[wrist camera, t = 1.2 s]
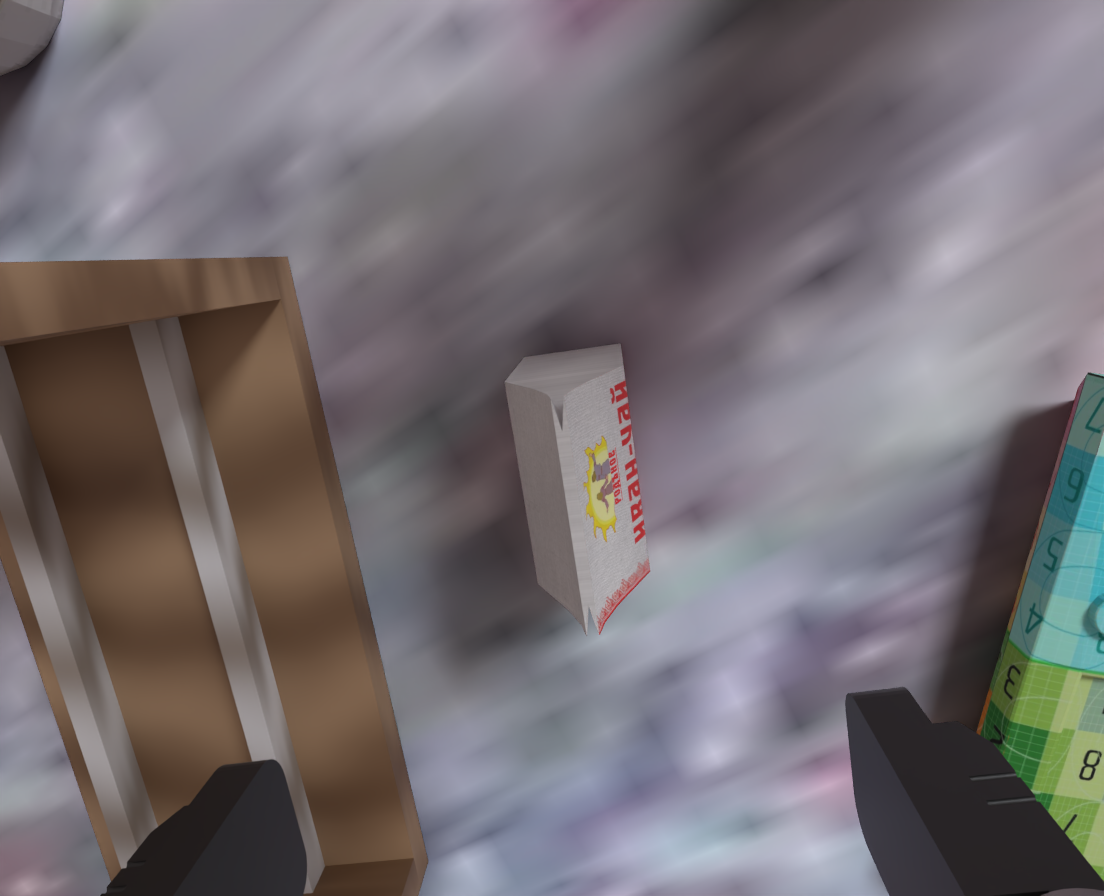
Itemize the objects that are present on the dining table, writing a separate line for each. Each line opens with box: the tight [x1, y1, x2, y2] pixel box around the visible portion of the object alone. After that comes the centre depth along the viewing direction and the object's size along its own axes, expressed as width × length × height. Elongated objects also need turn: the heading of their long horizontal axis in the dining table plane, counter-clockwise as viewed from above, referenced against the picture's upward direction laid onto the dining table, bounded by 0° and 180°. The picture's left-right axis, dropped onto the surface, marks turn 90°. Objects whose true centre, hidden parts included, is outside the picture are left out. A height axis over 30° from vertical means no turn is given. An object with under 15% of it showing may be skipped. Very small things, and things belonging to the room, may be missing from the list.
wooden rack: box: [0, 257, 428, 896], centre depth 26 cm, size 27×14×16 cm, turn 9°
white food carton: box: [505, 343, 650, 636], centre depth 26 cm, size 4×7×10 cm, turn 8°
